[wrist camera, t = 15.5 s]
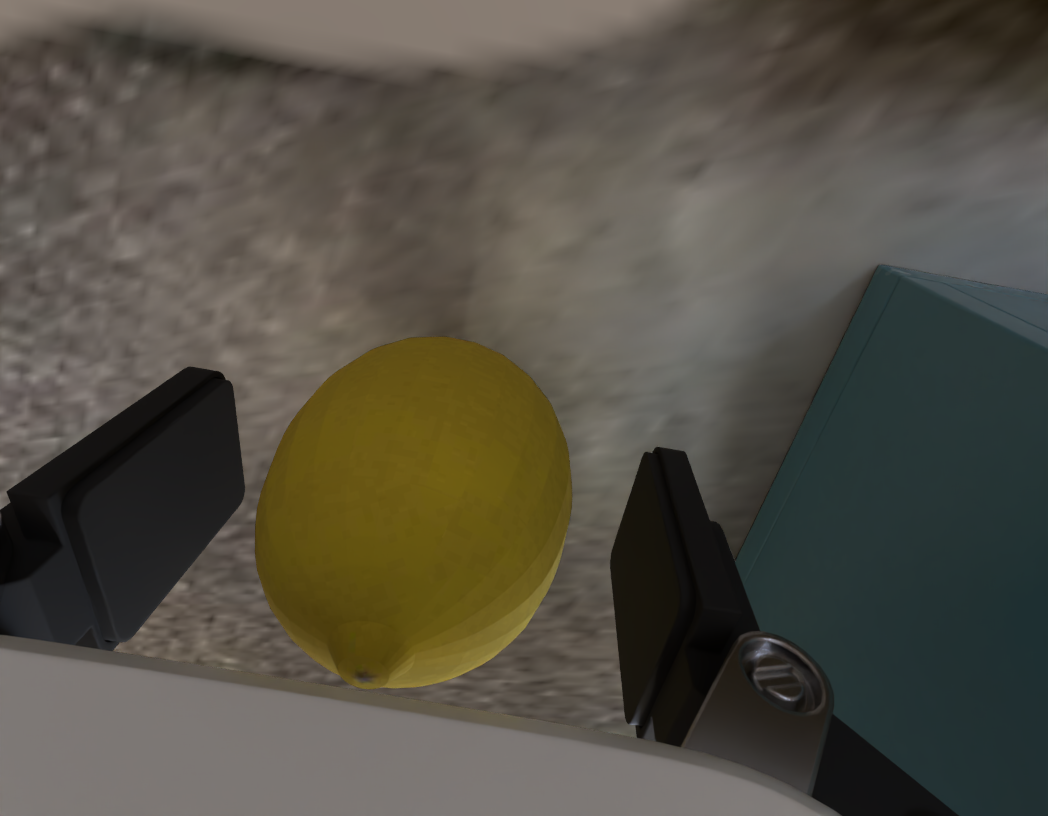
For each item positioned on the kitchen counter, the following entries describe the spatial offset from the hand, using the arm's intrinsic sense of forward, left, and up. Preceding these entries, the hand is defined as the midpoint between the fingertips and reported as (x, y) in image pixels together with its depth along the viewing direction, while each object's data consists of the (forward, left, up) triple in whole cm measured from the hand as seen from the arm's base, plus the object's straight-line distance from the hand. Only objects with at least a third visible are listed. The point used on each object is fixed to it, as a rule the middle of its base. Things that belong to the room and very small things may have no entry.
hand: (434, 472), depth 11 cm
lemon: (0, 0, -4) cm, 4 cm away
